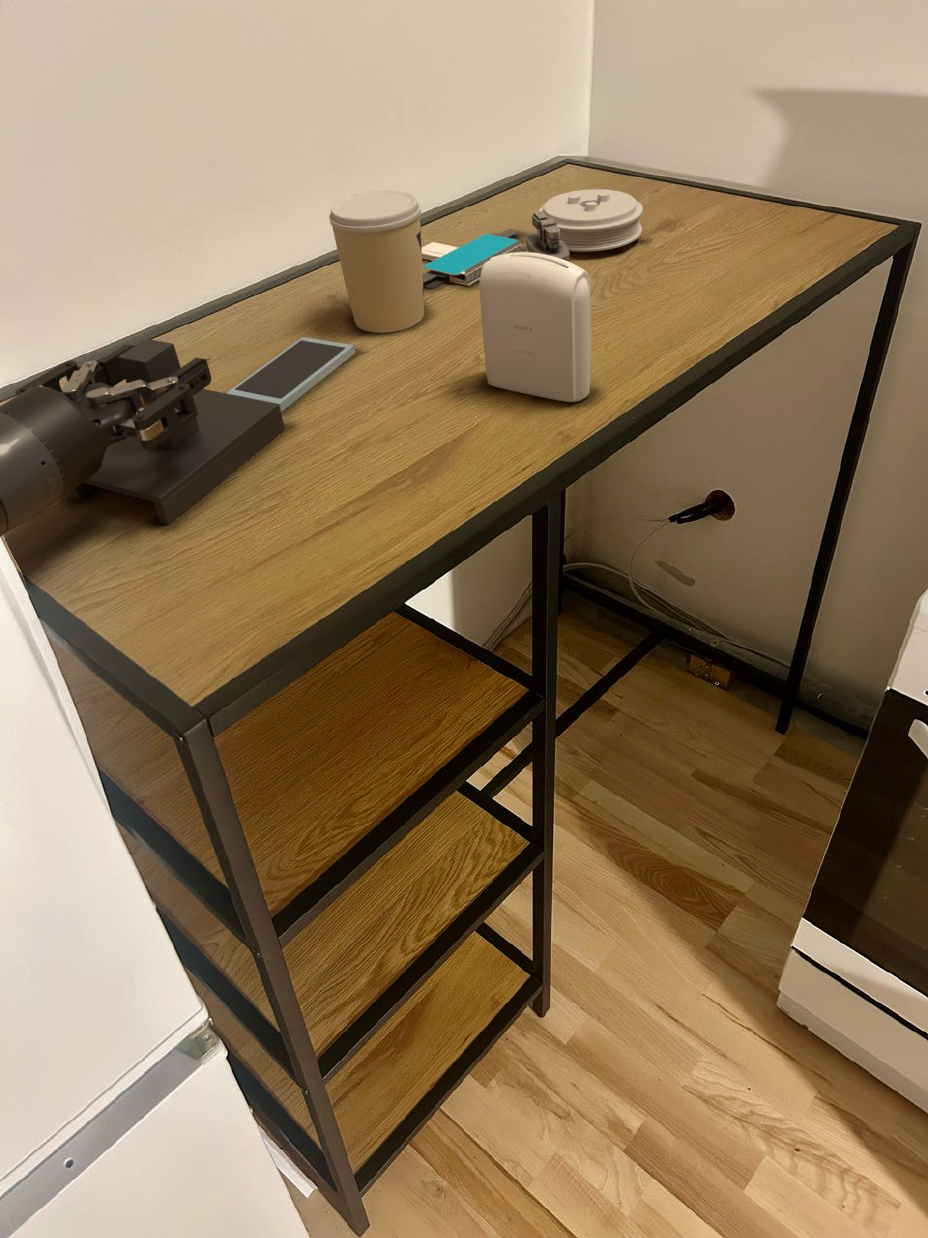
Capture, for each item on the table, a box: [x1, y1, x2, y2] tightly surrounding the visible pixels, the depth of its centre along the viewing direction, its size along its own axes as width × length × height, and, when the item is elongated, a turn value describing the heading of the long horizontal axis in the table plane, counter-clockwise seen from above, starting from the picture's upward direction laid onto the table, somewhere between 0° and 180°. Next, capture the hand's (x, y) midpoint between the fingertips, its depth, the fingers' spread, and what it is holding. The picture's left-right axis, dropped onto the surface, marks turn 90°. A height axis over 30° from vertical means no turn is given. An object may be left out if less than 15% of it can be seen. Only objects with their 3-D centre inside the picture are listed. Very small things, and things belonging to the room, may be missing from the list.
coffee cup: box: [328, 189, 425, 334], centre depth 97 cm, size 9×9×12 cm
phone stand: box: [421, 228, 528, 290], centre depth 112 cm, size 20×12×2 cm, turn 141°
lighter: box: [525, 210, 570, 262], centre depth 95 cm, size 8×3×10 cm, turn 14°
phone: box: [226, 336, 356, 413], centre depth 92 cm, size 13×6×1 cm, turn 152°
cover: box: [69, 338, 286, 526], centre depth 78 cm, size 16×11×11 cm
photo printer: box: [478, 252, 592, 403], centre depth 82 cm, size 10×4×12 cm, turn 57°
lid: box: [537, 188, 644, 253], centre depth 112 cm, size 13×13×5 cm
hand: (169, 361), depth 77 cm, fingers open, 7 cm apart
